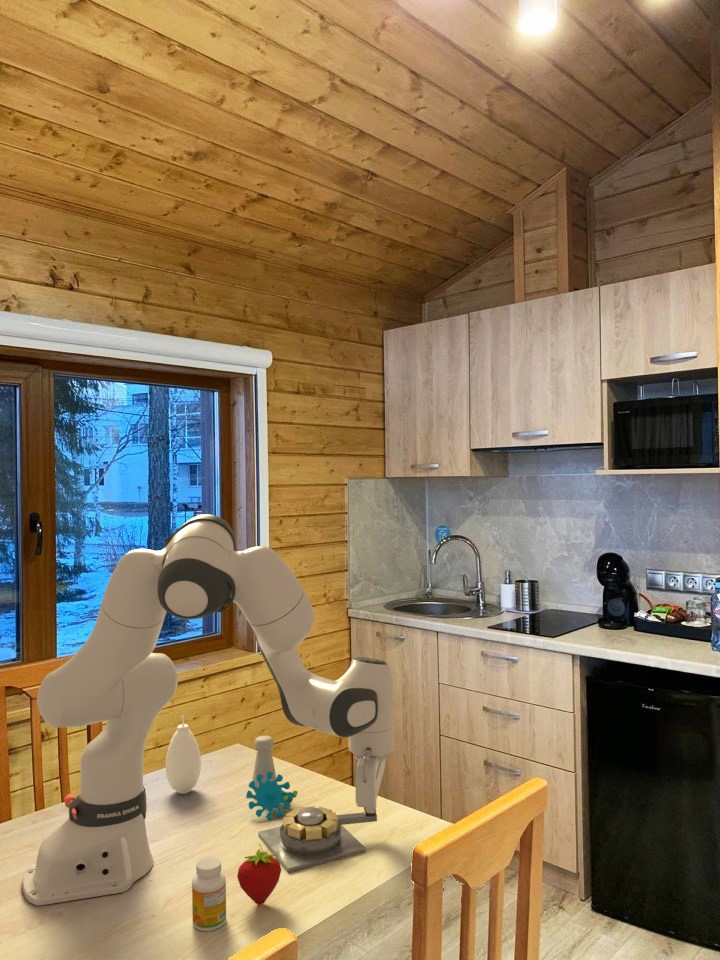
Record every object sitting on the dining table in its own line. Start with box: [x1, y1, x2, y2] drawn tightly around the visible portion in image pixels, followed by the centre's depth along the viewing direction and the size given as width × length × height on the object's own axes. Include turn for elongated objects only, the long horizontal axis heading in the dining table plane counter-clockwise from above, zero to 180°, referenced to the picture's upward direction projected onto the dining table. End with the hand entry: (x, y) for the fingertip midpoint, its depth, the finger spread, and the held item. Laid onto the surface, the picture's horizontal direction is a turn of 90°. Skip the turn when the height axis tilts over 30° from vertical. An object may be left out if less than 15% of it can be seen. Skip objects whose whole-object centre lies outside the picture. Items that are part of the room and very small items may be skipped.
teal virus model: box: [245, 772, 299, 820], centre depth 164 cm, size 11×6×10 cm
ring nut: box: [282, 805, 378, 841], centre depth 149 cm, size 10×18×6 cm, turn 101°
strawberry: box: [236, 842, 282, 906], centre depth 128 cm, size 6×8×10 cm
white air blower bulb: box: [165, 714, 202, 795], centre depth 173 cm, size 8×8×18 cm
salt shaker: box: [251, 735, 279, 795], centre depth 172 cm, size 6×6×13 cm
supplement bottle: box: [191, 856, 227, 932], centre depth 123 cm, size 5×5×10 cm
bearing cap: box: [257, 807, 367, 873], centre depth 149 cm, size 16×16×6 cm
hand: (371, 811), depth 148 cm, fingers closed
